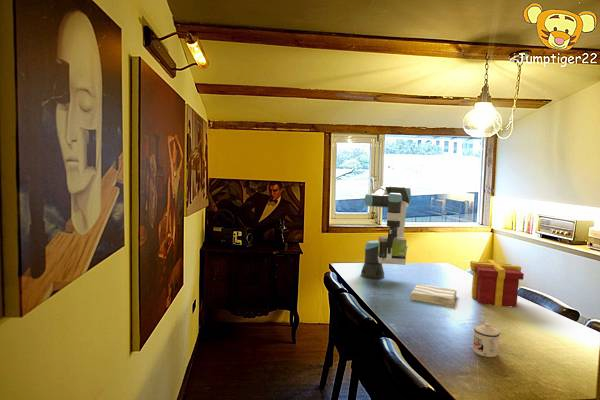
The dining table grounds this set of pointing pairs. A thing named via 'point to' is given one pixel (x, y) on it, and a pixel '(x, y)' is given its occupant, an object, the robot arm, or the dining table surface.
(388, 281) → the dining table surface
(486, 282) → the gift box
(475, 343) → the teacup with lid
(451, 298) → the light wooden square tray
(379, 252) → the tea box
